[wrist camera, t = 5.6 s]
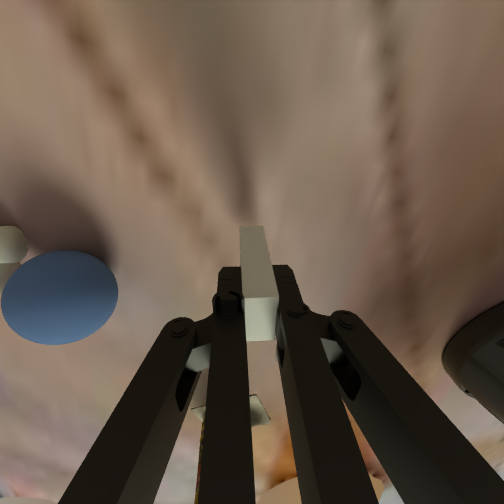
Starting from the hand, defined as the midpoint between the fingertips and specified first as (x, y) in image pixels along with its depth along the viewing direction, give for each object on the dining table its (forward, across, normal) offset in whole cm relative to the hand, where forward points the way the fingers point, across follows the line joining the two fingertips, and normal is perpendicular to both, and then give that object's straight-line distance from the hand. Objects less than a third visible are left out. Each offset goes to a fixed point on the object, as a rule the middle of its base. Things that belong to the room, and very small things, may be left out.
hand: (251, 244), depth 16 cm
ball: (-1, +12, +3) cm, 13 cm away
